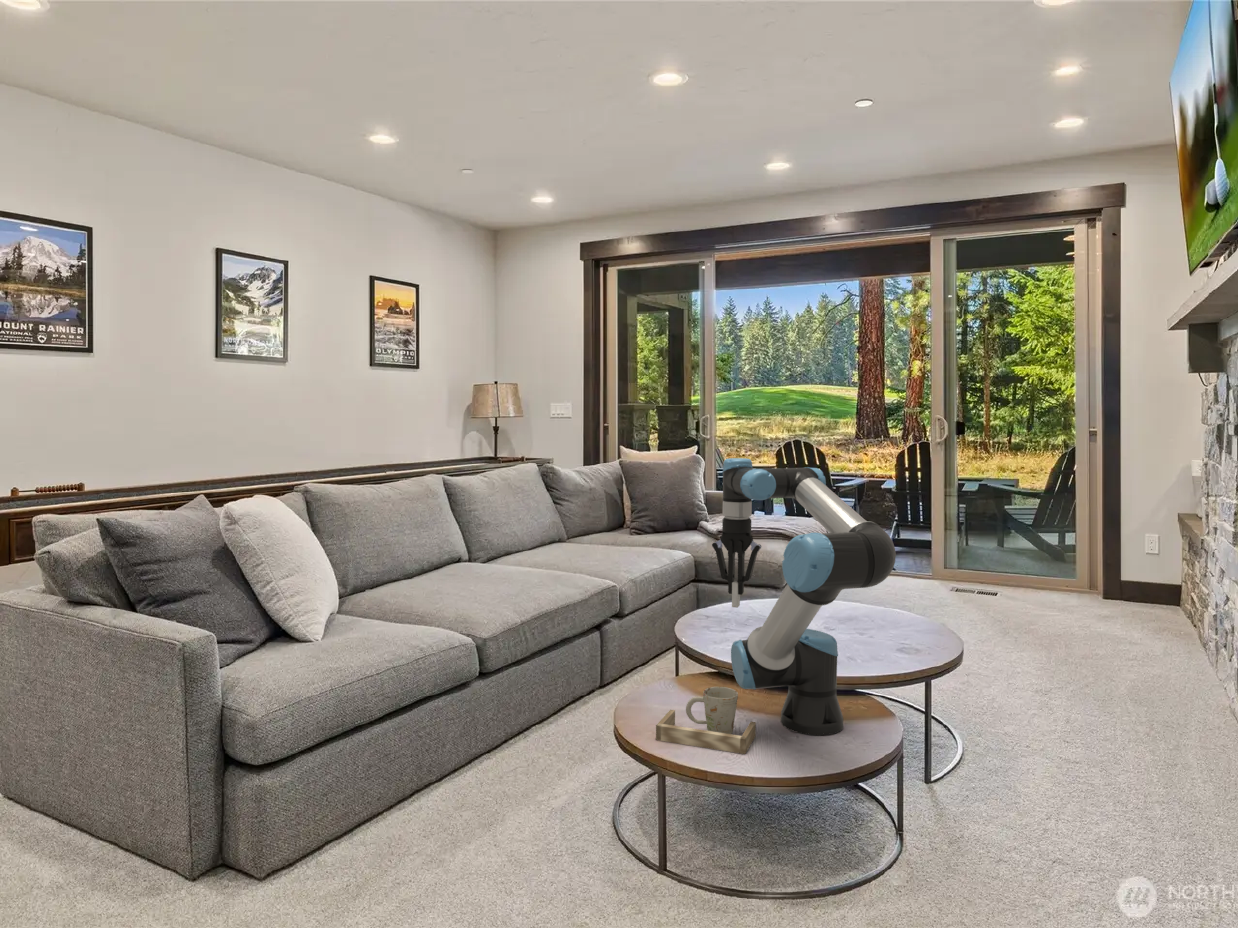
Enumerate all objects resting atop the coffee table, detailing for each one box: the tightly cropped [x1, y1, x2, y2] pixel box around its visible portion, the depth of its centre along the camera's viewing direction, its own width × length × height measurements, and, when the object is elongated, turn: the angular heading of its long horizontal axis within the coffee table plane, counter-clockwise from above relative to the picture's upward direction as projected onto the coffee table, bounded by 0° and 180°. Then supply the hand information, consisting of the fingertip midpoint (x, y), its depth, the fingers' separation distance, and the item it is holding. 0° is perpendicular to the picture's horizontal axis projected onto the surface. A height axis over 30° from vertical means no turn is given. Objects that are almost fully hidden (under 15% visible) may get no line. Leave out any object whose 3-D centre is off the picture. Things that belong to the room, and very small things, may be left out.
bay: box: [655, 709, 757, 755], centre depth 193 cm, size 21×11×4 cm, turn 68°
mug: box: [685, 686, 739, 735], centre depth 196 cm, size 8×13×10 cm, turn 78°
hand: (735, 606), depth 213 cm, fingers closed
